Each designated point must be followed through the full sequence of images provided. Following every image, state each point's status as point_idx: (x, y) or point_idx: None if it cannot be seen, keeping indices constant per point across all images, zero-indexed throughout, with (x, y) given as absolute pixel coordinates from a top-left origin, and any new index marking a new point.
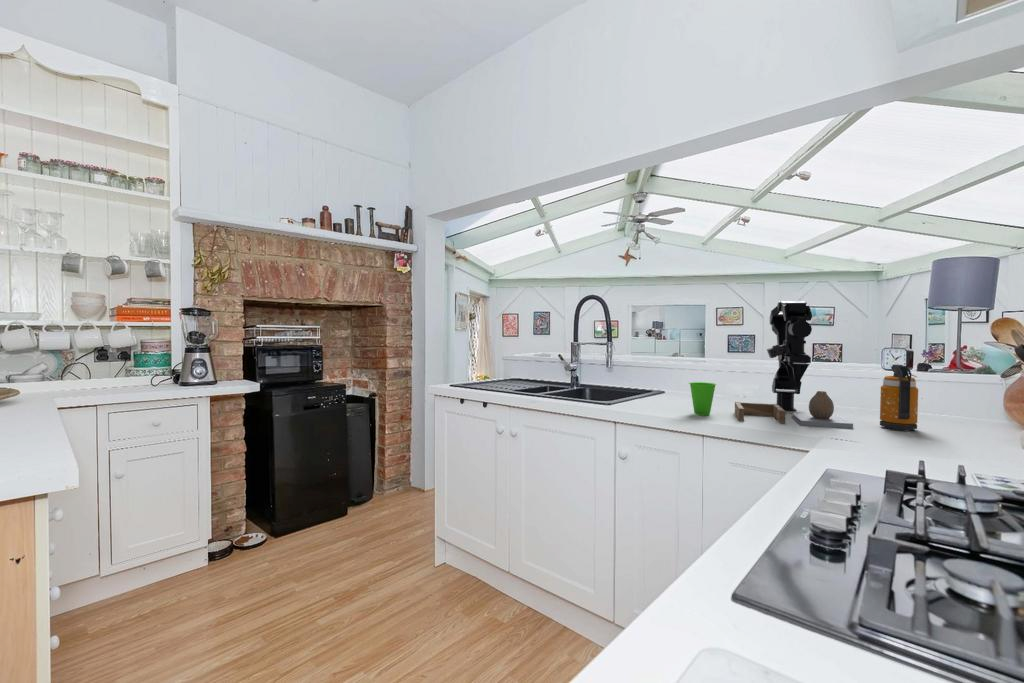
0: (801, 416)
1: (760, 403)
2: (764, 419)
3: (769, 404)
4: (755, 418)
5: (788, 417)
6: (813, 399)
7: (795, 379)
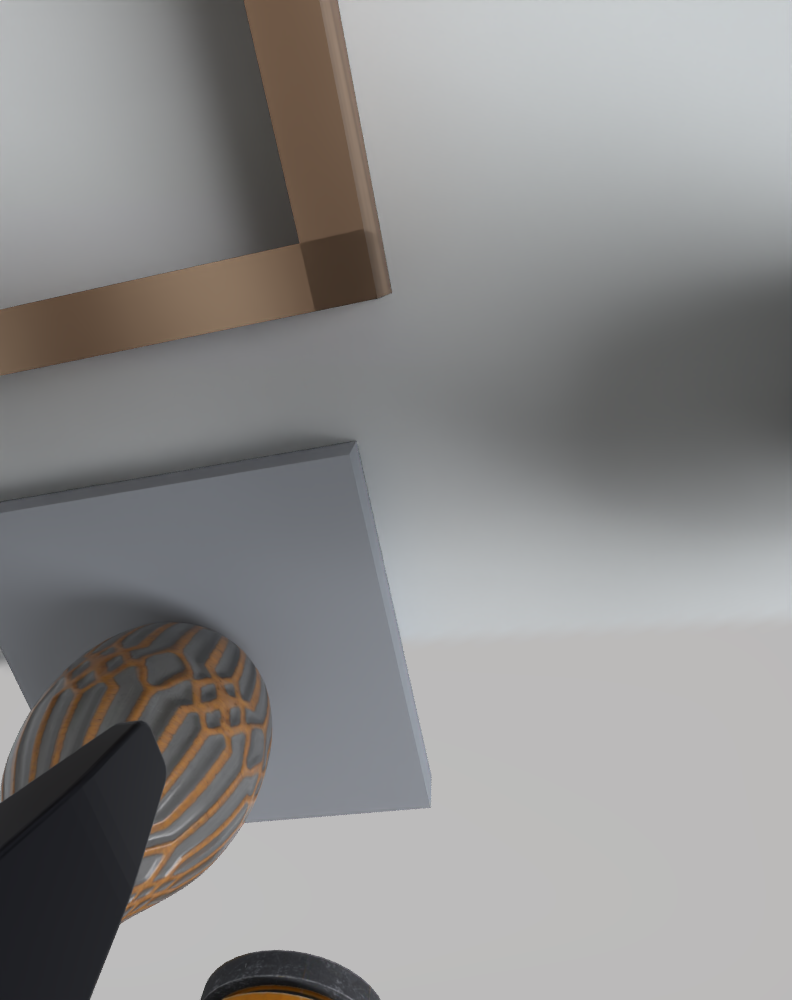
0: (173, 535)
1: (307, 28)
2: (30, 169)
3: (287, 187)
4: (20, 55)
5: (336, 410)
6: (24, 753)
7: (31, 796)
